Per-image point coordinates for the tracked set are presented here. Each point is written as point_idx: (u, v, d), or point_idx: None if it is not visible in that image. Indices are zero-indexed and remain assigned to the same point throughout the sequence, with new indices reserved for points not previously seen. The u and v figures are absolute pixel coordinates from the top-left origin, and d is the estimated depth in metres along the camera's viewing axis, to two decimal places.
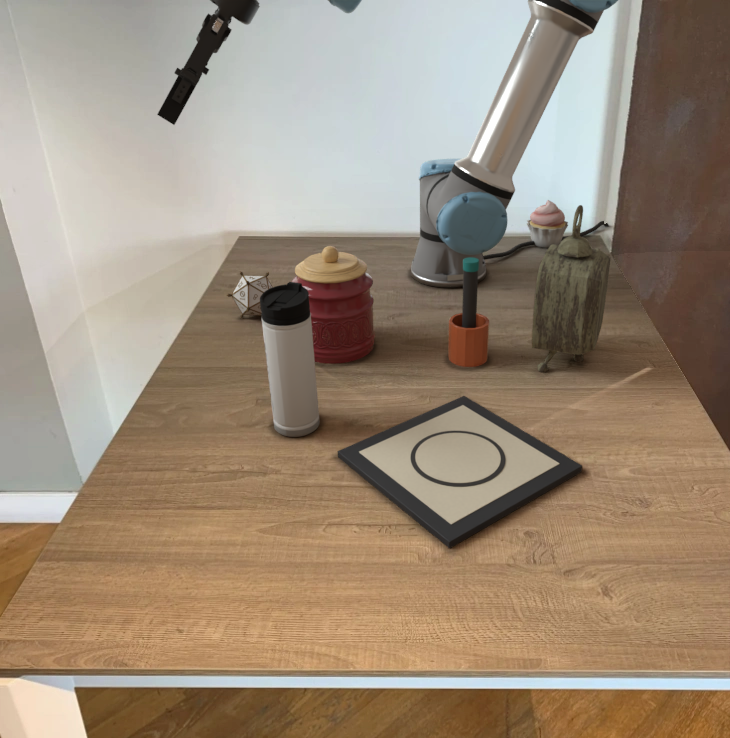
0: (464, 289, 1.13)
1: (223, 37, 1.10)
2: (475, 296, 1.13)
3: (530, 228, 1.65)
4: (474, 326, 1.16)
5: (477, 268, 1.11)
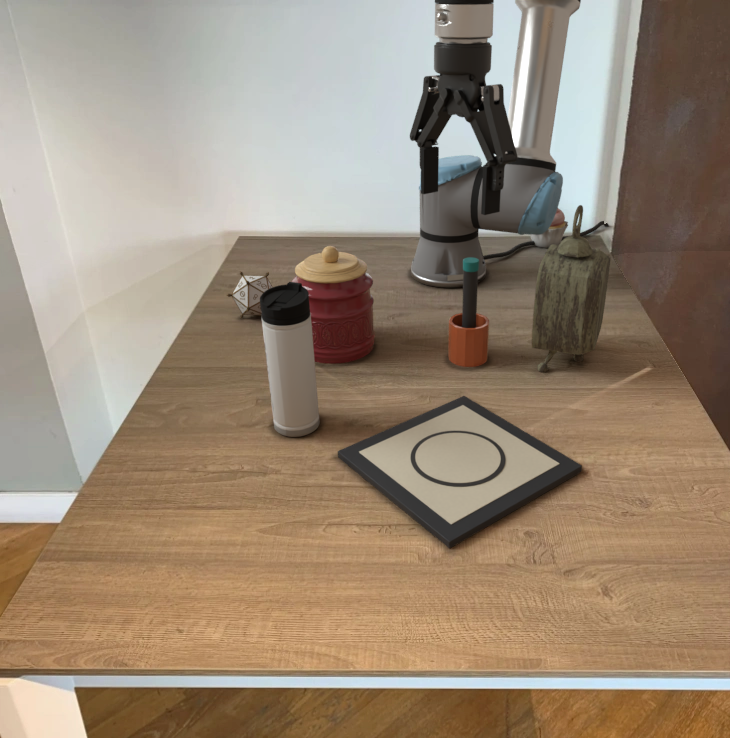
0: (464, 289, 1.13)
1: None
2: (475, 296, 1.13)
3: None
4: (474, 326, 1.16)
5: (477, 268, 1.11)
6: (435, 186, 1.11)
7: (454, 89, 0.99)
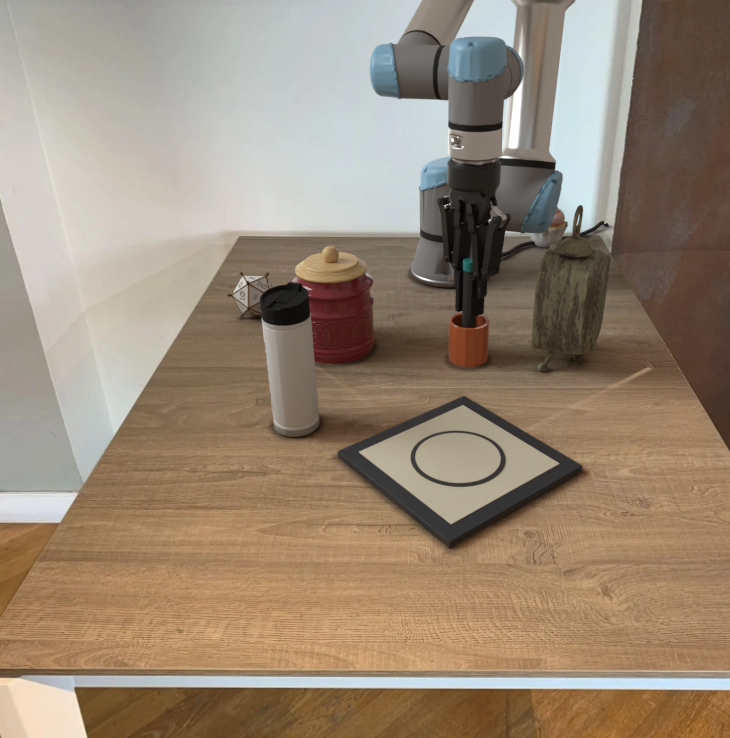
0: (464, 289, 1.13)
1: None
2: None
3: None
4: (474, 326, 1.16)
5: None
6: None
7: None
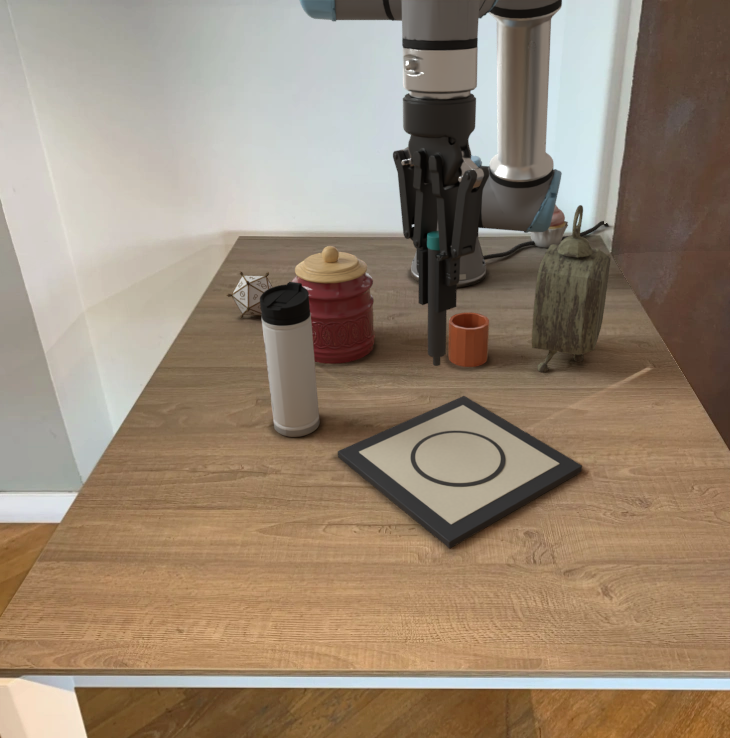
0: (429, 274, 0.84)
1: None
2: None
3: None
4: (444, 323, 0.87)
5: None
6: None
7: None
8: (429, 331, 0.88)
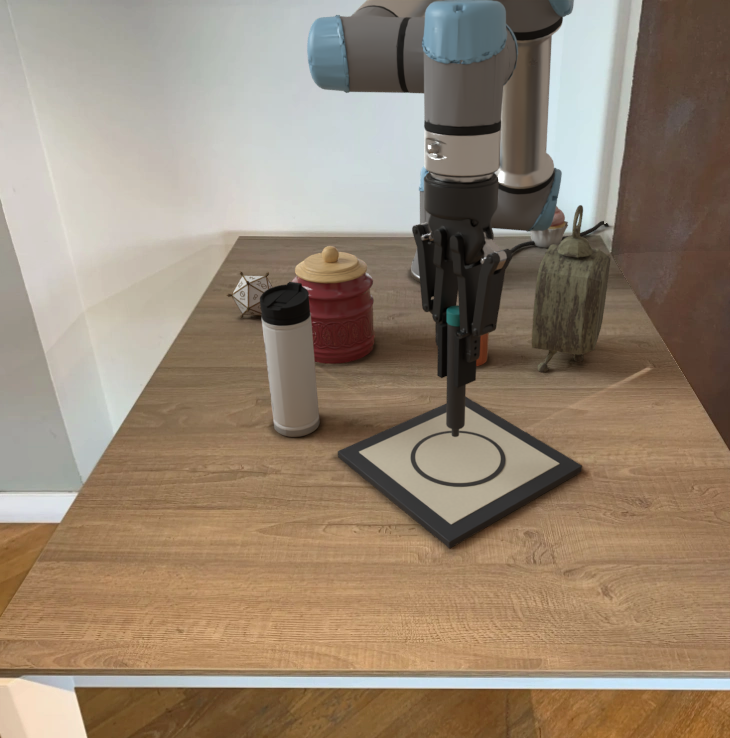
0: (449, 348, 0.83)
1: None
2: None
3: None
4: (463, 396, 0.86)
5: None
6: None
7: None
8: (448, 404, 0.87)
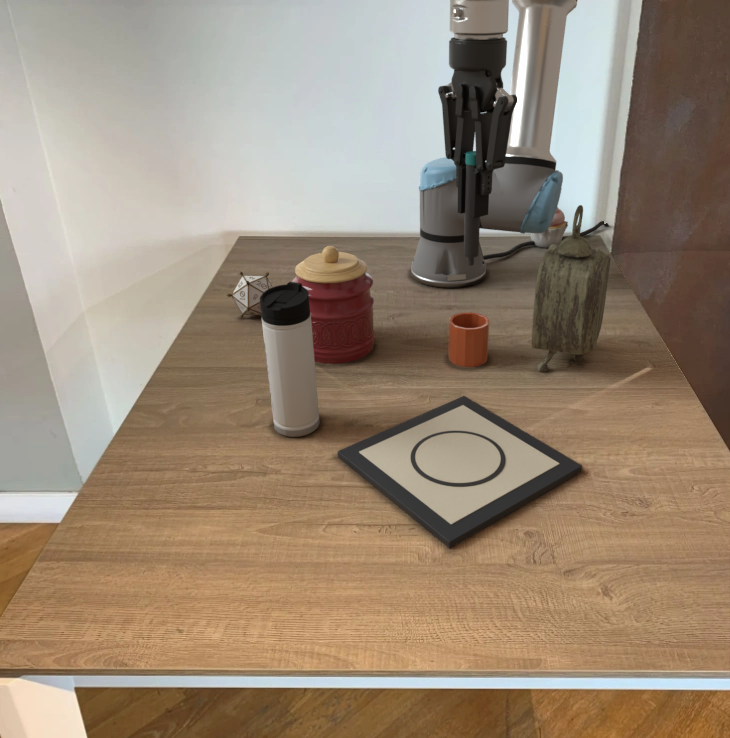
0: (467, 186, 1.05)
1: None
2: None
3: None
4: (477, 228, 1.08)
5: None
6: None
7: (468, 71, 0.98)
8: (465, 235, 1.08)
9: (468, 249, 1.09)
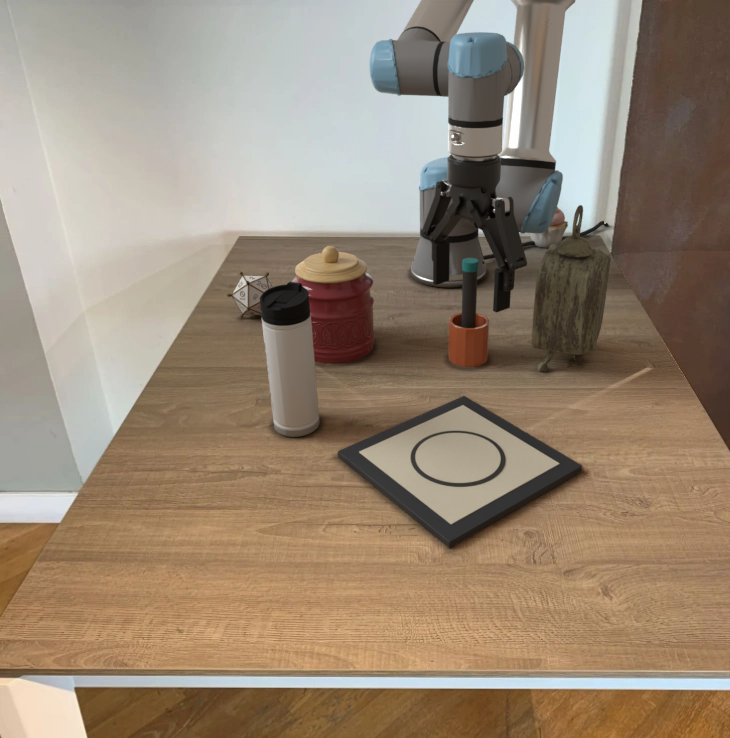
0: (463, 289, 1.13)
1: None
2: (474, 296, 1.13)
3: None
4: (473, 326, 1.16)
5: (476, 268, 1.11)
6: (446, 276, 1.18)
7: (466, 197, 1.06)
8: None
9: None
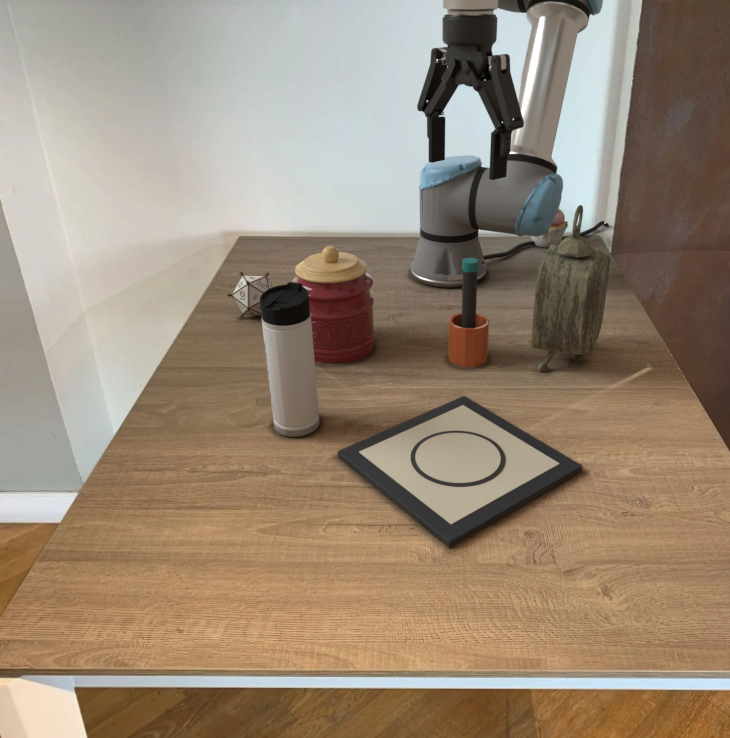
0: (463, 289, 1.13)
1: None
2: (474, 296, 1.13)
3: None
4: (473, 326, 1.16)
5: (476, 268, 1.11)
6: (442, 155, 1.16)
7: (462, 60, 1.04)
8: None
9: None
